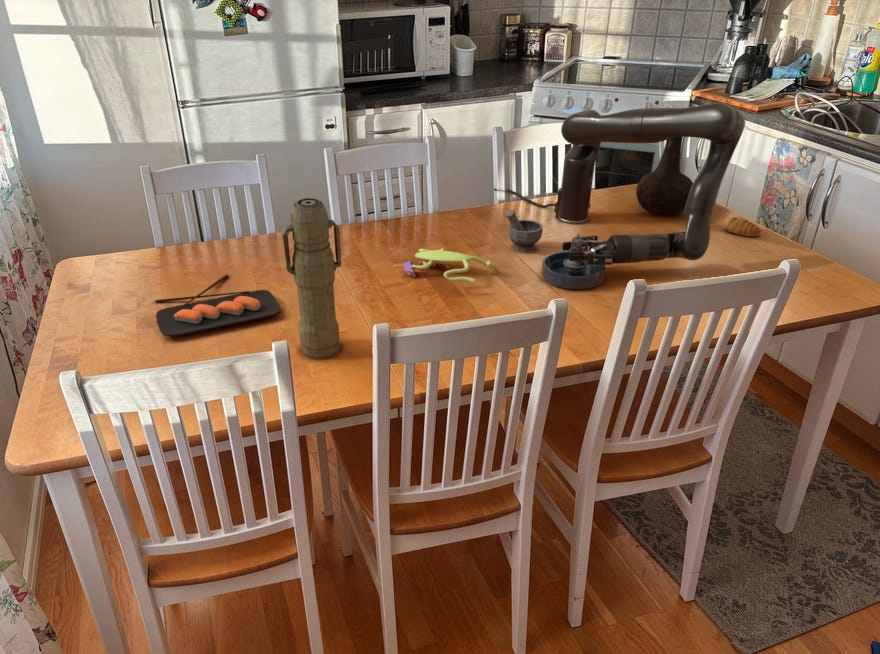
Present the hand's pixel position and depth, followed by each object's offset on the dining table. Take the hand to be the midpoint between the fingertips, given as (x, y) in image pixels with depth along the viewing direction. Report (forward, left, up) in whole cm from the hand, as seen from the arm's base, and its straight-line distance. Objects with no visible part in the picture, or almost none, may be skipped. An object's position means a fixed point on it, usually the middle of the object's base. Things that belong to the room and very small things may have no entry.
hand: (566, 251), depth 192 cm
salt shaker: (+2, +2, -7) cm, 8 cm away
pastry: (+26, +62, -8) cm, 67 cm away
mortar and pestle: (-19, +10, -8) cm, 23 cm away
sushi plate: (-61, -69, -8) cm, 93 cm away
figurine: (-25, -17, -8) cm, 32 cm away
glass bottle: (0, +64, -8) cm, 64 cm away
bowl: (+2, +2, -8) cm, 8 cm away
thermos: (-24, -67, -8) cm, 72 cm away
